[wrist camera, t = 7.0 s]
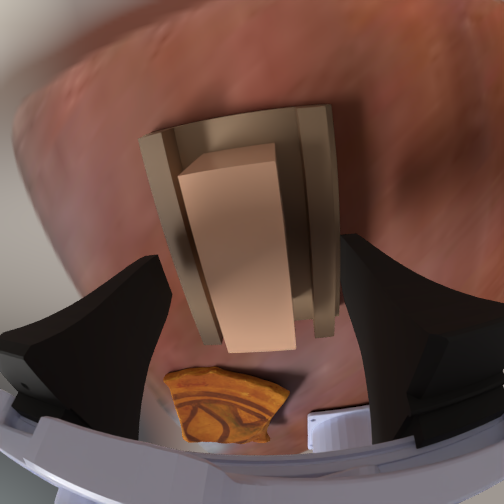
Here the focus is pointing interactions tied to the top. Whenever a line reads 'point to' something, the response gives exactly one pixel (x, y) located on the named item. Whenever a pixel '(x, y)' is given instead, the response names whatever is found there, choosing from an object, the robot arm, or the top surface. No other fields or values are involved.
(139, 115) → the top surface
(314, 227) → the grey u-channel
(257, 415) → the pottery fragment
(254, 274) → the clay strip
